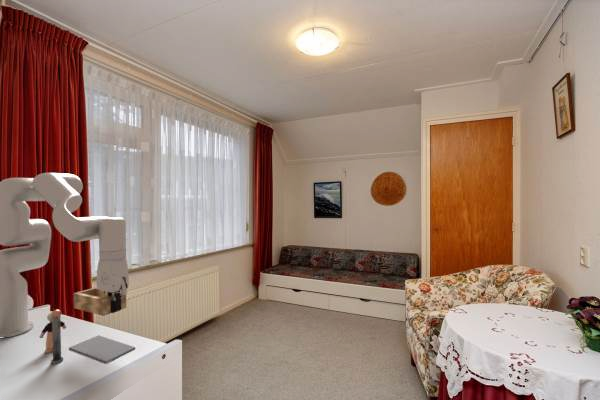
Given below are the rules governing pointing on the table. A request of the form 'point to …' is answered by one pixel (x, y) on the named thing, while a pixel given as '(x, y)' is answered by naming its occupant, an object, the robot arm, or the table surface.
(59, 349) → the post stand
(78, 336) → the table surface
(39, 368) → the table surface
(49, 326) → the grandmother figurine
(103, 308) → the open wooden frame
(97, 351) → the rubber mat
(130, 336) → the table surface
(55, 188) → the robot arm
